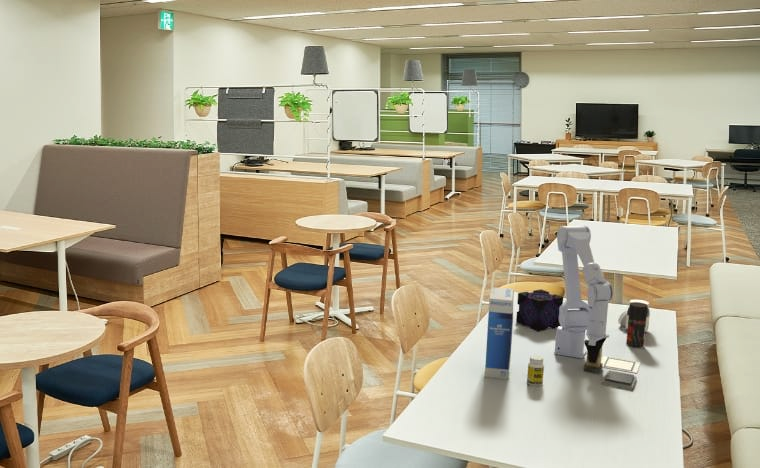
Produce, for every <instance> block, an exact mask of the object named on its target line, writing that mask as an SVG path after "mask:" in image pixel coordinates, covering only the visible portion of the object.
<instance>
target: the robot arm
mask: <svg viewBox="0 0 760 468" xmlns="http://www.w3.org/2000/svg"><path fill="white" fill-rule="evenodd" d="M591 238H592V234H591V230H590V228H589V226H588V225H572V226H571V225H560V226H559V228H558V230H557V232H556V241H557V249H558V251H559V252H561V256H562V257H561V258H562V268H563V278H564V288H565V296H566V300H565V301H563V304H562V305H561V306H560V307H559V323H560V325H561V326H558V328H556V333H555V341H554V342H555V344H554V355H560V356H565V357H571V358H577V359H583V358H584V356H585V355H586V354H587V352H588V359H589V362H590V363H596V361H597V358H598V354H599V351H600V349H601V347H602V348H603V346H604V343H605V341H606V340H607V339H609V337H610V333H606V330H607V321H608V312H609V311H608V310H609V302H610V301H612V299H613V296H614V291H613V287H612V286H613V285H612V284H611V283H610V282H608V280H607V279H605V276H604V274H603V272H602V268H601V266H600V265H599V264H598V263H596V262H595V260H594V256H593V253H592V249H591V246H590V244H591ZM578 258H579V259H580V261H581V263H582V265H583V267H582V269H581V272H582V275H583V278H584V280H585V284H586V286H587V289H586V296H587V302H585V301H584V300H583V299H582V289H581V280H580V279H581V278H580V270H579V261H578ZM586 337H587V339H586ZM585 348H586V349H585Z"/></svg>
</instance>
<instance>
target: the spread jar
mask: <svg viewBox="0 0 760 468" xmlns="http://www.w3.org/2000/svg"><path fill="white" fill-rule="evenodd" d="M632 302H640V303H644V304H647V305H648V307H647V317H646V327H645V335H646V334H647V333H648V330H649V324H650V315H651V313H650V312H651V311H650V308H649V307H650V302H649V301H648V300H647V301H646V300H643V299H630V300H629V304H630V303H632ZM629 308H630V305H629V306H628V307H627V310H626V309H625V310H624V311H623V312H622V313H621V314H620V315H619V317H618V318H617V323H618V324H619V326H621V327H625V330H626V331H627V329H628V319H629Z"/></svg>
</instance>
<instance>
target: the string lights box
mask: <svg viewBox="0 0 760 468" xmlns="http://www.w3.org/2000/svg"><path fill="white" fill-rule="evenodd" d="M514 291H515V290H514V289H513V288H505V287H504V288H502V287H491V289H490V294H489V301H488V302H489V303H488V315H487V318H488V319H487V331H486V332H487V333H486V351H485V365H484V378H492V379H499V380H508V379H509V373H510V366H511V358H512V357H511V355H512V341H513V340H512V339H513V326H514V325H513V323H514V298H515V297H514V294H515V292H514Z"/></svg>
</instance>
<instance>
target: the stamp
mask: <svg viewBox="0 0 760 468" xmlns="http://www.w3.org/2000/svg"><path fill="white" fill-rule="evenodd" d="M602 355H603V346H602V347H601V349H600V351H599V354H598V358H597V361H596V363H590V362H589V359H588V352H587V351H586V361H585V363H584V365H583V372H585V373H591V374H597V375H600V374H601V373H602V371H603V368H604V367H603V363H601V360H602V358H603V356H602Z"/></svg>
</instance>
